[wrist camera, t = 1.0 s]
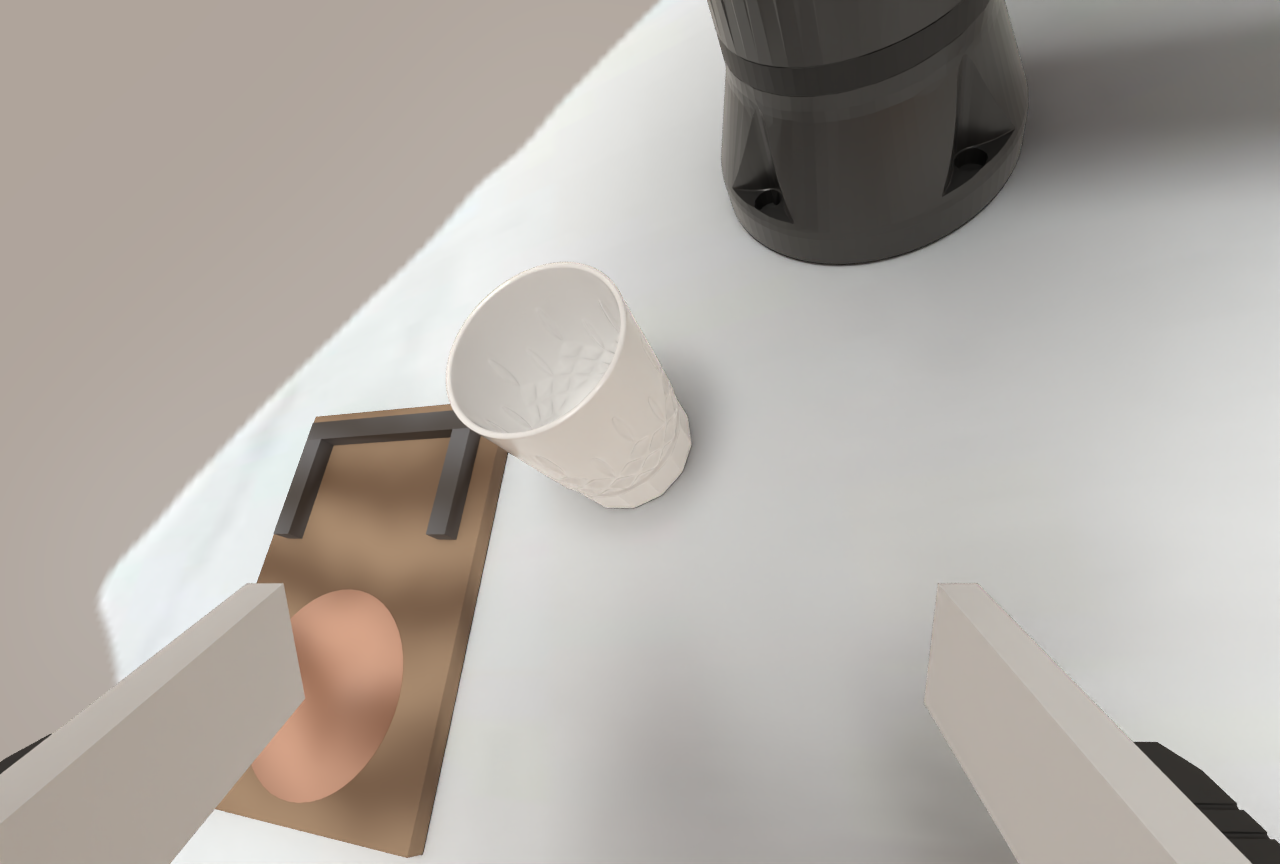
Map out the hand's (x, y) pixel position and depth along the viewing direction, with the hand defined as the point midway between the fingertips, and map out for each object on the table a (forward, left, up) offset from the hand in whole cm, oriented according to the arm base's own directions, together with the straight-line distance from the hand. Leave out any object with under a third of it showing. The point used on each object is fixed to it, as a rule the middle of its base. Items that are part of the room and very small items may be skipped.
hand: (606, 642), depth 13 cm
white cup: (-11, -7, -15) cm, 20 cm away
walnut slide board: (-3, -22, -15) cm, 27 cm away
